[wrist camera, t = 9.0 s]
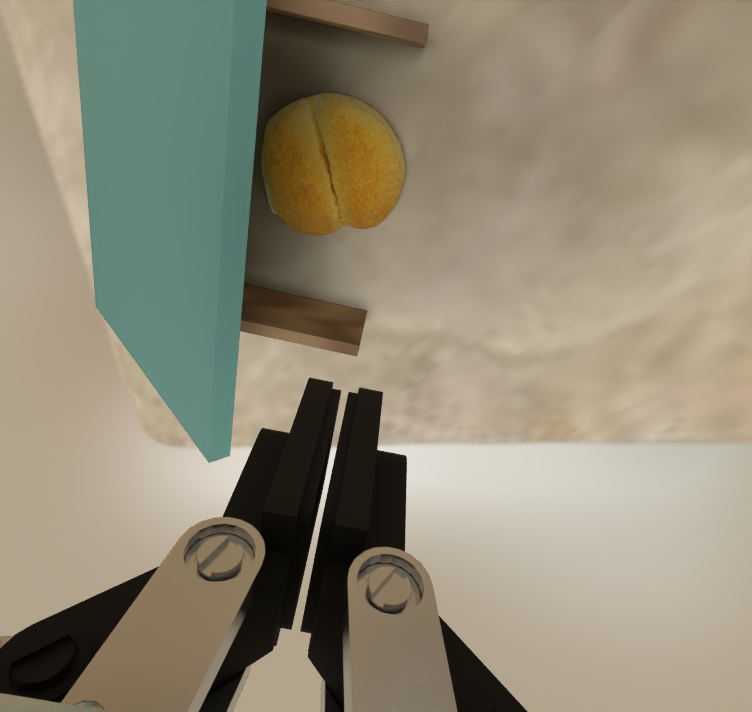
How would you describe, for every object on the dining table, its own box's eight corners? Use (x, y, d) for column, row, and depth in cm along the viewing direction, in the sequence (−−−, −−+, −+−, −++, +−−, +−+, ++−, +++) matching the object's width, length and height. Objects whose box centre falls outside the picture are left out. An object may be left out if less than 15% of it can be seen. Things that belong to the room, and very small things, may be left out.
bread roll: (412, 217, 35) (411, 233, 31) (284, 234, 36) (270, 252, 32) (396, 79, 31) (392, 81, 27) (253, 104, 32) (232, 108, 28)
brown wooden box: (427, 32, 29) (428, 24, 24) (365, 320, 38) (357, 356, 33) (148, -35, 29) (93, -56, 24) (152, 274, 38) (113, 303, 33)
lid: (270, -48, 14) (237, -60, 14) (229, 455, 23) (208, 462, 23) (92, -57, 24) (68, -64, 23) (112, 304, 33) (95, 306, 32)
